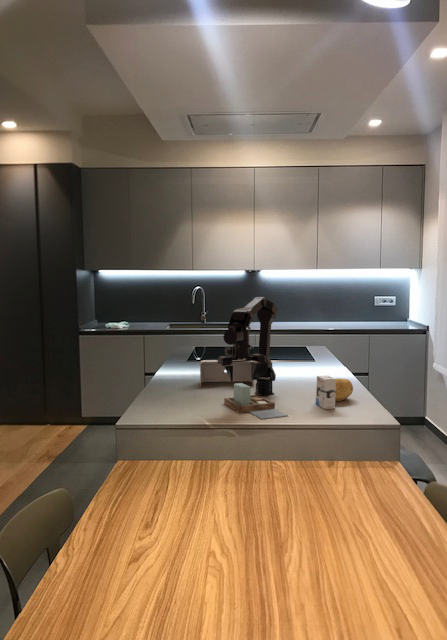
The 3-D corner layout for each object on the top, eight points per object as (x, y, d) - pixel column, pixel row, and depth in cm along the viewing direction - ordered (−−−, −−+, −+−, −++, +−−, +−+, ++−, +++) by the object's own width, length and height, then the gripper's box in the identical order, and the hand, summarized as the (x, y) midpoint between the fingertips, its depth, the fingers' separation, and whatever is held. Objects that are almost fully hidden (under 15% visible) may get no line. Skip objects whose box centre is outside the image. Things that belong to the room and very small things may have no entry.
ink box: (315, 404, 206) (316, 375, 205) (326, 403, 207) (327, 375, 206) (323, 409, 198) (324, 379, 197) (335, 408, 199) (336, 379, 198)
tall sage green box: (241, 404, 207) (241, 383, 206) (250, 409, 199) (250, 386, 199) (233, 405, 205) (233, 383, 205) (242, 410, 198) (242, 387, 197)
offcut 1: (255, 400, 210) (255, 396, 210) (262, 402, 206) (262, 398, 206) (249, 401, 208) (249, 397, 208) (256, 403, 204) (256, 400, 204)
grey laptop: (251, 382, 252) (251, 357, 251) (254, 389, 236) (253, 362, 235) (200, 383, 252) (200, 358, 251) (200, 390, 236) (200, 363, 235)
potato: (357, 403, 208) (358, 380, 207) (323, 403, 206) (324, 380, 205) (347, 398, 218) (348, 376, 217) (315, 398, 216) (316, 376, 215)
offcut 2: (264, 406, 204) (264, 400, 204) (268, 409, 200) (268, 403, 200) (256, 407, 203) (256, 401, 203) (260, 409, 199) (260, 403, 199)
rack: (257, 400, 214) (257, 394, 213) (274, 409, 199) (274, 402, 199) (224, 404, 208) (224, 398, 208) (239, 413, 194) (239, 406, 193)
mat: (273, 409, 199) (273, 408, 199) (288, 416, 189) (288, 415, 189) (248, 412, 195) (248, 411, 195) (261, 419, 185) (261, 418, 185)
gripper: (254, 338, 211) (254, 375, 213) (212, 340, 204) (212, 379, 205) (266, 341, 201) (266, 380, 202) (223, 344, 194) (223, 384, 195)
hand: (241, 380), depth 202 cm, fingers open, 9 cm apart
